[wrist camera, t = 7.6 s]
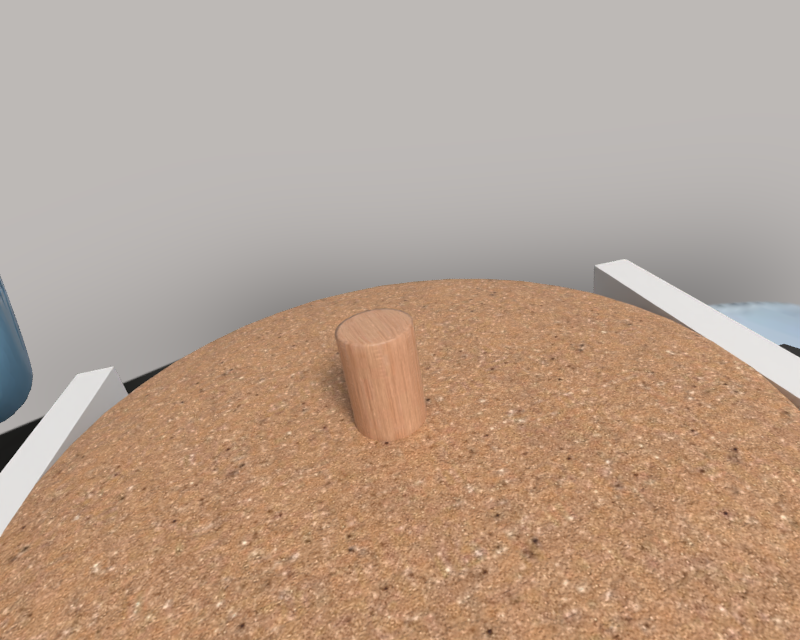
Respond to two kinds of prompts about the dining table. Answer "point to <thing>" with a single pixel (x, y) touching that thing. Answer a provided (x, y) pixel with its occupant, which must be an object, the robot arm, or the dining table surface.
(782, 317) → the dining table surface
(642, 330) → the lidded jar
